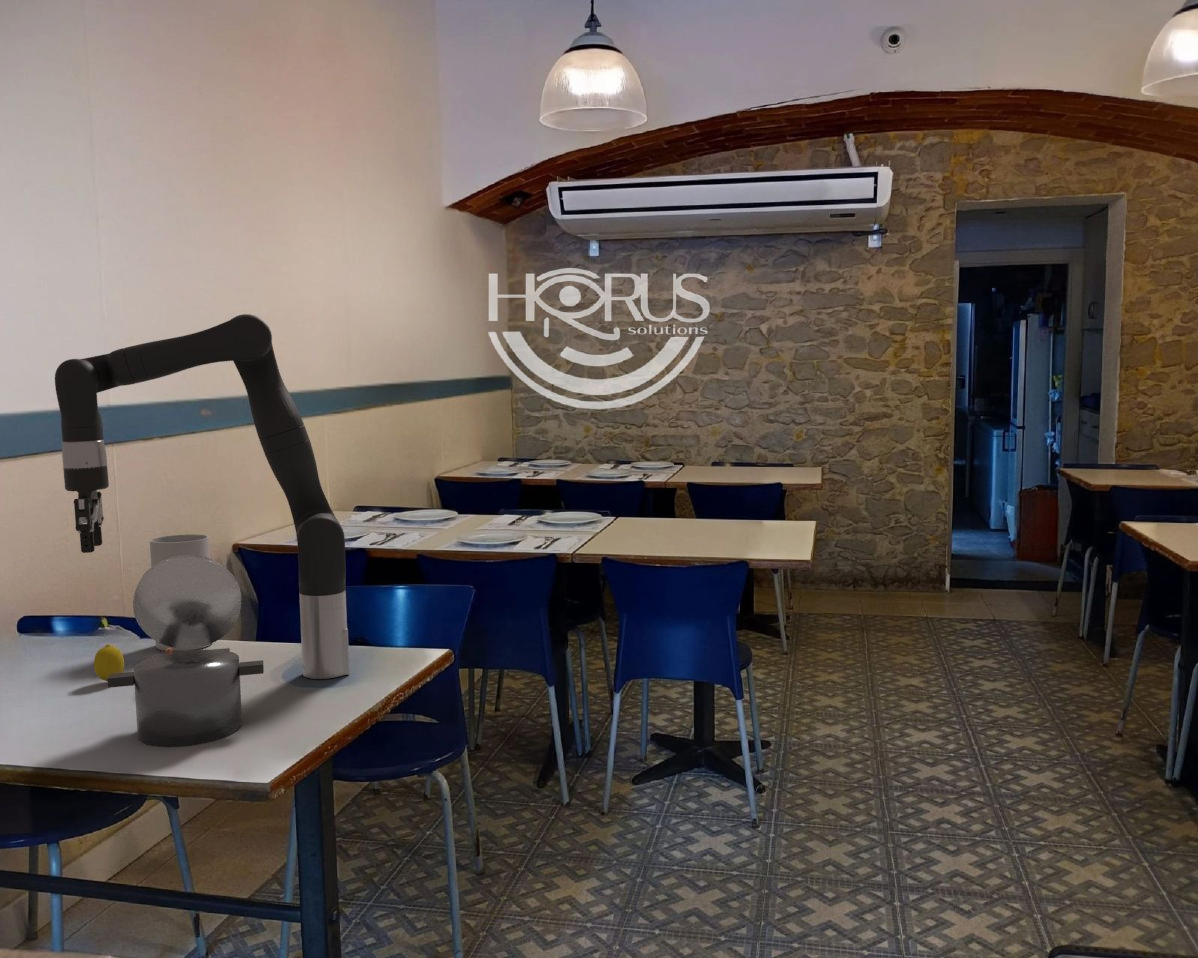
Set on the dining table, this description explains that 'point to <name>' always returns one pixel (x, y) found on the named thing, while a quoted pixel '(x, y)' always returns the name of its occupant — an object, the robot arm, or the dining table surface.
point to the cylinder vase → (175, 547)
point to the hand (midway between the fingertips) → (92, 548)
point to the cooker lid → (187, 601)
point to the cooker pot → (187, 696)
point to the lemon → (108, 662)
